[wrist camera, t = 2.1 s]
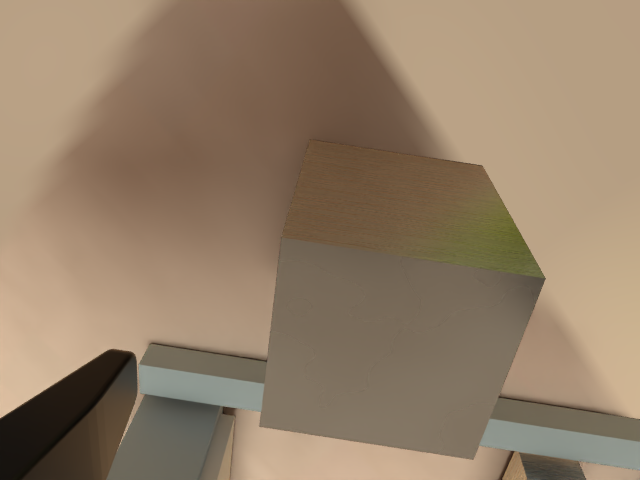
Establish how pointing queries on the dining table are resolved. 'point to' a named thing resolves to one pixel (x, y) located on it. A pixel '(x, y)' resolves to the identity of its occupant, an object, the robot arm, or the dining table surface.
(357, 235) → the block
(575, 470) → the block
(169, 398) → the vise
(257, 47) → the dining table surface
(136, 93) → the dining table surface
